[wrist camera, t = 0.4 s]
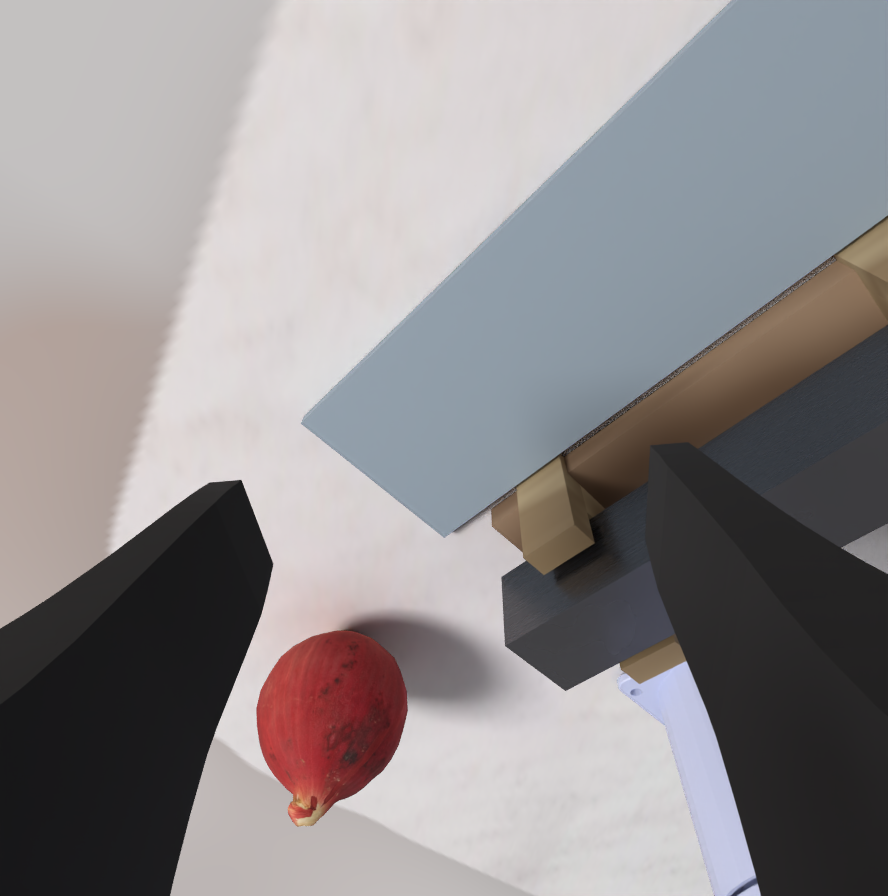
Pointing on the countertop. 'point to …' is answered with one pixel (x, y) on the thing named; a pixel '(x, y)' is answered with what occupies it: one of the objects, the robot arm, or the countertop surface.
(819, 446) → the rail
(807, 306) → the rack
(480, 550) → the countertop surface
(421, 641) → the countertop surface
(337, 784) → the onion
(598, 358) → the mat
